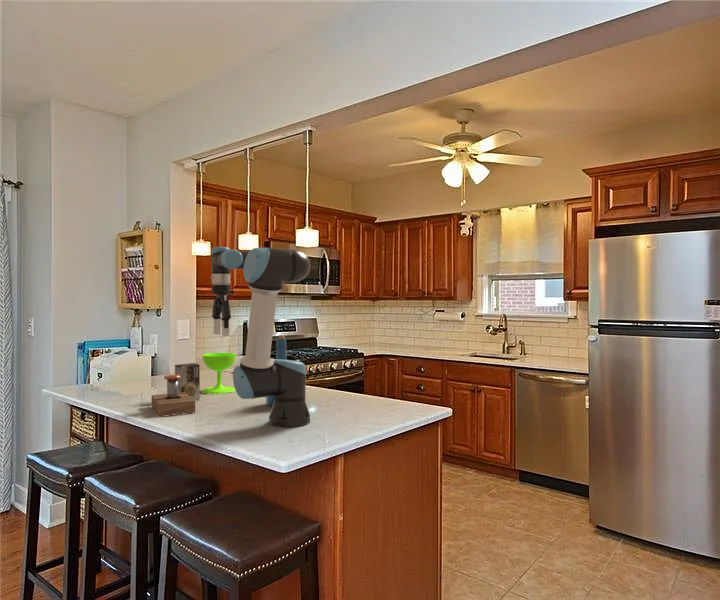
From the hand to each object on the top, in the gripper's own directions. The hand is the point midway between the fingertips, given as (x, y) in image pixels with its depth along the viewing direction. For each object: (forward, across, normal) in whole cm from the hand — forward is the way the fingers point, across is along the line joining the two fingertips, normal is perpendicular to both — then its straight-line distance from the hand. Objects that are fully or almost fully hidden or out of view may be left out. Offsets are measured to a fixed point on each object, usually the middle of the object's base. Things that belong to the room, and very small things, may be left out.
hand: (221, 335), depth 222 cm
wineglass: (+30, -40, +9) cm, 51 cm away
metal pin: (+29, -6, -18) cm, 35 cm away
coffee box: (+30, -24, -9) cm, 40 cm away
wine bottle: (+31, +5, +24) cm, 40 cm away
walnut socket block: (+30, -7, -18) cm, 36 cm away
